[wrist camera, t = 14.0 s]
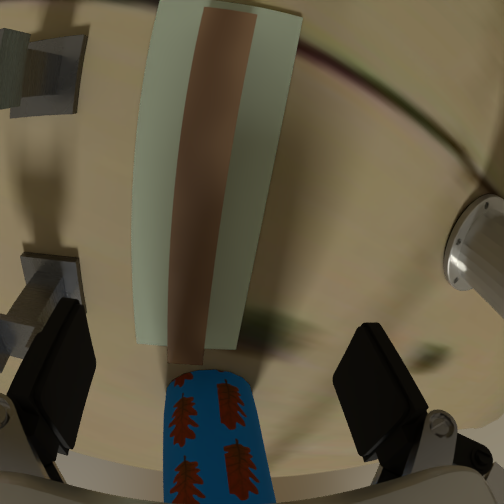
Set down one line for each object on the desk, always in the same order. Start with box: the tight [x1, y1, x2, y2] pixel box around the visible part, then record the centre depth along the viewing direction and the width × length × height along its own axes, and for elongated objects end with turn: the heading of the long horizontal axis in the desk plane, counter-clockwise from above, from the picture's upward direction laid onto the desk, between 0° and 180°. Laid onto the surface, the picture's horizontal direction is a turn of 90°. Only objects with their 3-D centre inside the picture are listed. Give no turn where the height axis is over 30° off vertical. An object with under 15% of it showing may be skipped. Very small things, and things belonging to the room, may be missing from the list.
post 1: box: [0, 28, 88, 118], centre depth 11 cm, size 6×6×10 cm
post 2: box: [0, 252, 87, 373], centre depth 19 cm, size 6×6×10 cm
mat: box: [131, 0, 303, 350], centre depth 22 cm, size 10×30×1 cm, turn 170°
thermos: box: [163, 370, 276, 504], centre depth 23 cm, size 11×11×25 cm
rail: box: [167, 7, 258, 365], centre depth 20 cm, size 3×26×4 cm, turn 170°
